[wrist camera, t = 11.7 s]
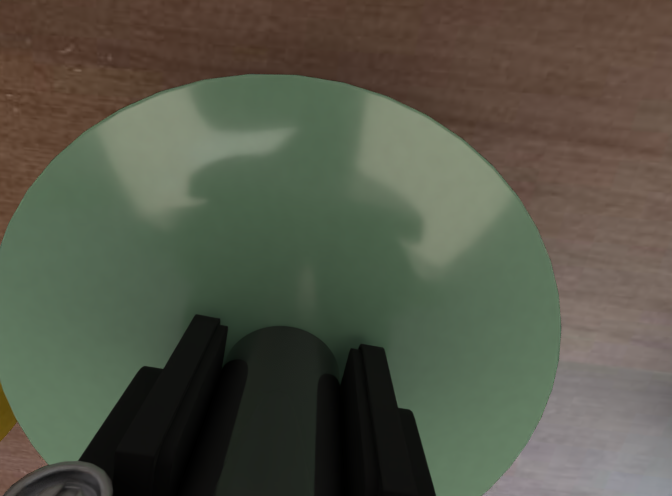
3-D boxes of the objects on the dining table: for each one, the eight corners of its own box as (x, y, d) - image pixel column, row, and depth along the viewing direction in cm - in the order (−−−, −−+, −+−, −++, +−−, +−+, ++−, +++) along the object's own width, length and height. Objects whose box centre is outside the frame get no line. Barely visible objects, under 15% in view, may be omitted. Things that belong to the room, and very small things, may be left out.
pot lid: (14, 6, 9) (-603, -166, 3) (625, 150, 10) (1042, 229, 4) (27, 497, 13) (-210, 819, 7) (450, 553, 14) (535, 865, 9)
